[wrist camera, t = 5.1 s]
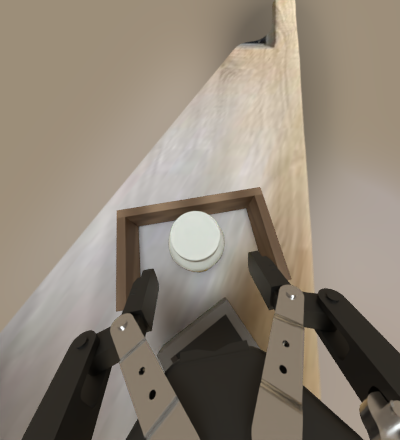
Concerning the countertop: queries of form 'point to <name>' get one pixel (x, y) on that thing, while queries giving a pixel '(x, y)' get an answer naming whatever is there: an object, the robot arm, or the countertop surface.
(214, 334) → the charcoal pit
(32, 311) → the countertop surface
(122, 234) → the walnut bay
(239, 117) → the countertop surface
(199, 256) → the supplement bottle
